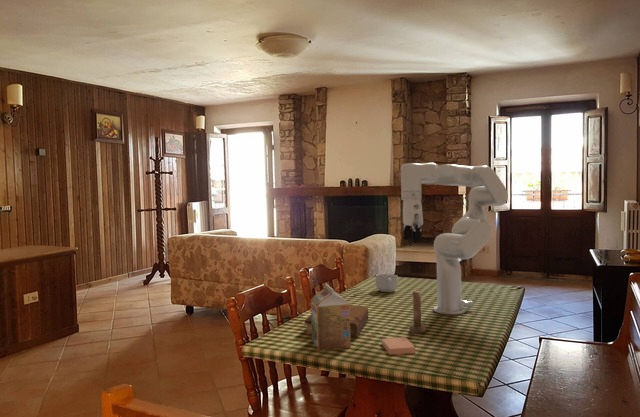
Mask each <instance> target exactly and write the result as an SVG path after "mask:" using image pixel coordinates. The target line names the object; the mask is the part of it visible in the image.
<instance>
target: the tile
mask: <svg viewBox="0 0 640 417" xmlns="http://www.w3.org/2000/svg"><path fill="white" fill-rule="evenodd" d="M381 345H382V346H383V347H384V349H385V350H386V352H387V353H388V354H389V355H401V354H402V355H403V354H416V346H414V345H413V344H412V342H411V341H410V340H409V339H408V338H407V337H406V336H405V337H388V338H386V337H385V338H381Z"/></svg>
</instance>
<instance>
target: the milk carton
mask: <svg viewBox="0 0 640 417" xmlns="http://www.w3.org/2000/svg"><path fill="white" fill-rule="evenodd" d="M324 286H325V288H323V289H321V290H320V291H318V292H317V293H315V294H314V295H313V296H312V297H311V298H310V309H311V310H310V312H311V313H310V315H311V322H312V336H311V341H312V343H313V344H314V346H315V348H316V349H317V351H319V352H320V351H330V350H340V349H350V348H351V347H352V346H351V340H352V338H350V306H351V304H350V303H349V302H348V301H347V300H346V299H344V298H343V297H342V296H341V295H340V294H339V293H337V291H335V290H334V288H332V287H331V286H330V285H329V284H327V283H325V285H324Z"/></svg>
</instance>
